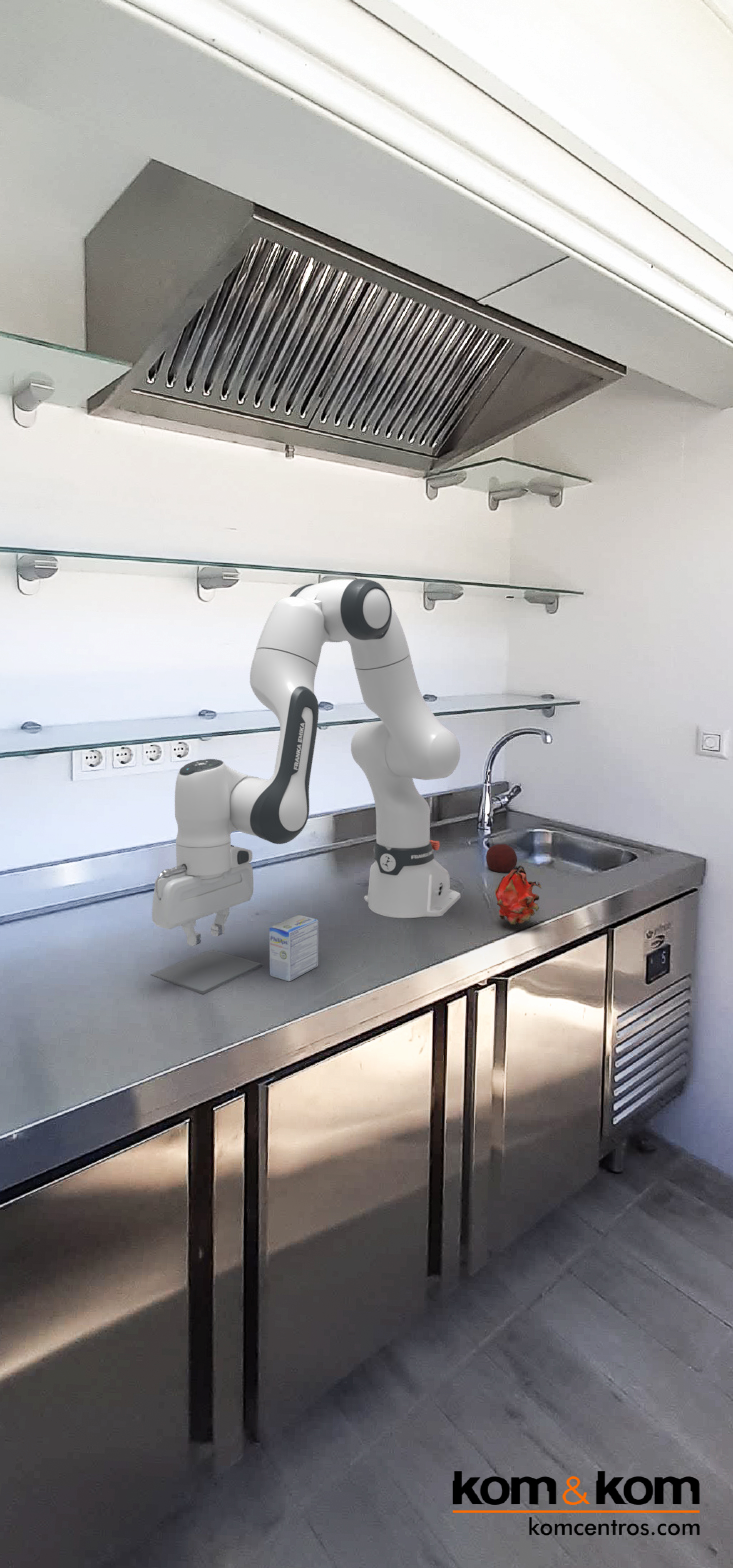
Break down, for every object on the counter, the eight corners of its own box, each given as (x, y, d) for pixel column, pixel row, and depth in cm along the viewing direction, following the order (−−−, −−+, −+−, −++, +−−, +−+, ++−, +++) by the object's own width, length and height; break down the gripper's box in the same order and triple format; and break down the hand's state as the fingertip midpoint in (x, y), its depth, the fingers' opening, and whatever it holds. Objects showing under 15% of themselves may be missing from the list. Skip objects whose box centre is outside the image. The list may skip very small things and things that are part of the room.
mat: (211, 952, 148) (211, 949, 148) (262, 966, 141) (261, 963, 141) (150, 977, 136) (150, 974, 136) (203, 994, 130) (203, 991, 130)
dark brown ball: (479, 870, 203) (480, 842, 202) (506, 867, 206) (507, 839, 205) (496, 877, 197) (497, 849, 195) (523, 874, 200) (524, 846, 199)
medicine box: (298, 962, 143) (298, 914, 142) (319, 967, 141) (318, 918, 140) (269, 976, 137) (268, 926, 136) (290, 982, 135) (289, 931, 133)
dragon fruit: (517, 935, 157) (520, 874, 155) (484, 924, 163) (486, 865, 161) (546, 926, 162) (548, 867, 160) (512, 915, 169) (514, 858, 167)
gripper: (169, 875, 125) (172, 962, 127) (259, 849, 142) (260, 926, 144) (141, 869, 129) (144, 954, 131) (232, 844, 146) (233, 920, 148)
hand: (205, 939), depth 138 cm, fingers open, 4 cm apart
